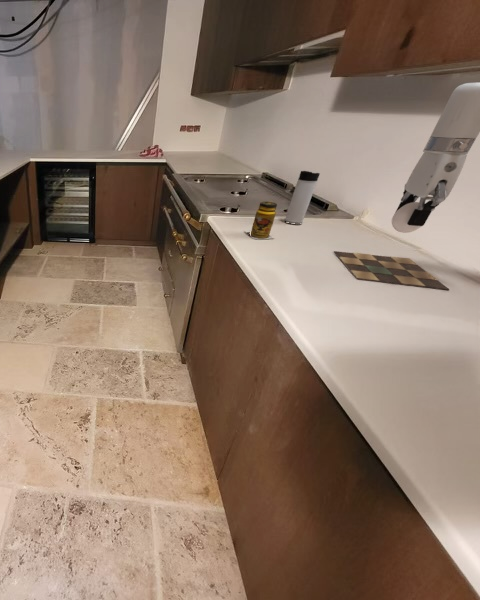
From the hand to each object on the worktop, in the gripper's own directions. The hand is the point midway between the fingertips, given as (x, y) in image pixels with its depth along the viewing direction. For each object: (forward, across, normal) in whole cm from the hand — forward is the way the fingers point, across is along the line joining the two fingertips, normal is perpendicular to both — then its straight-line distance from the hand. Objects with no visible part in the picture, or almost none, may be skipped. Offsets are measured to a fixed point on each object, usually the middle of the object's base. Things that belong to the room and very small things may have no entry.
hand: (407, 220), depth 84 cm
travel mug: (+15, +42, +14) cm, 47 cm away
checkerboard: (+15, +2, -2) cm, 15 cm away
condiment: (+15, +22, +29) cm, 40 cm away
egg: (+3, 0, 0) cm, 3 cm away
